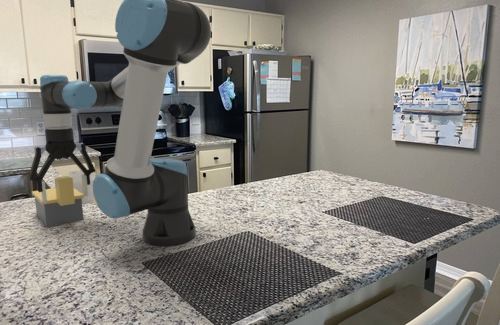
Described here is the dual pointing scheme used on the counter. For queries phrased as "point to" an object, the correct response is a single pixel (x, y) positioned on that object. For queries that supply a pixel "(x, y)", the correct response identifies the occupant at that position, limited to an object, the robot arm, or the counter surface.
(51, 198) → the lid
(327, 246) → the counter surface
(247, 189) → the counter surface
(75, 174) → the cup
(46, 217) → the tub
